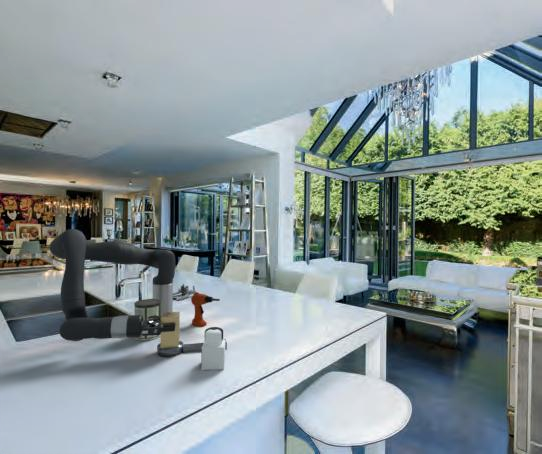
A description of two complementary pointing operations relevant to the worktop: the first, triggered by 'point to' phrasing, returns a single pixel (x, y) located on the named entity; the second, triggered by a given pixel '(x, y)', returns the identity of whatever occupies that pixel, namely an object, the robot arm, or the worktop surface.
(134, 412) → the worktop surface
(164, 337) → the brushed brass block
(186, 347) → the ratchet
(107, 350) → the worktop surface
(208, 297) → the toy drill
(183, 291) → the grey toy warship
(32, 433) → the worktop surface
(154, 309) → the coffee can
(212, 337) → the medicine bottle
